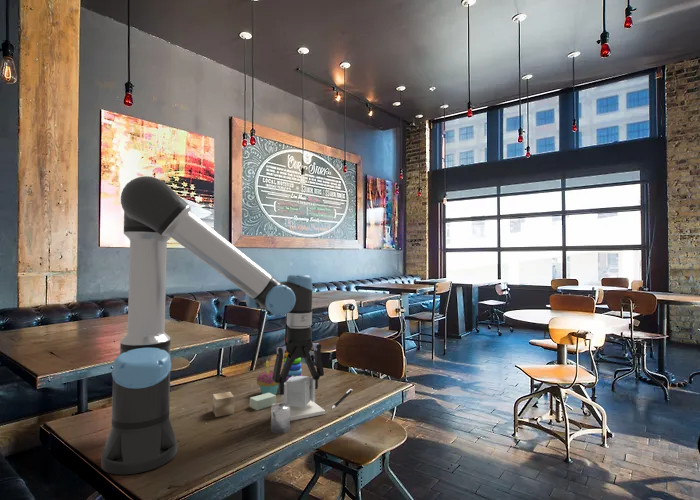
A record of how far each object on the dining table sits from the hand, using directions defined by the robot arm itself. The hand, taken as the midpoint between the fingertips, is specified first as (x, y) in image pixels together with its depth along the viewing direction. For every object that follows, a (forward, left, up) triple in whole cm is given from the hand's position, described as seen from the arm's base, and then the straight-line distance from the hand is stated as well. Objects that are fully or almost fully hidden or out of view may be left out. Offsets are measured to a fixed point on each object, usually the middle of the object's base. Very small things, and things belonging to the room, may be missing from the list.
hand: (298, 402), depth 120 cm
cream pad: (0, 0, -2) cm, 2 cm away
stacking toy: (+7, +24, -3) cm, 25 cm away
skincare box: (0, 0, 0) cm, 0 cm away
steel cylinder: (-9, -10, -2) cm, 14 cm away
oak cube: (-20, +9, -3) cm, 22 cm away
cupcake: (-3, +19, -3) cm, 19 cm away
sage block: (-8, +9, -3) cm, 12 cm away
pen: (+17, +3, -3) cm, 17 cm away
